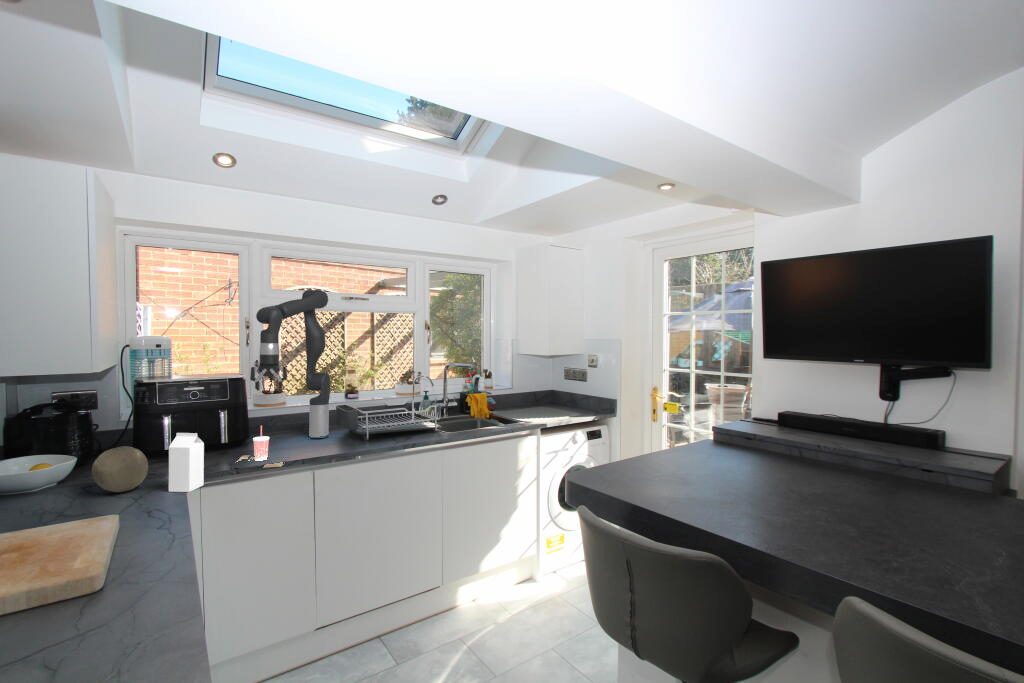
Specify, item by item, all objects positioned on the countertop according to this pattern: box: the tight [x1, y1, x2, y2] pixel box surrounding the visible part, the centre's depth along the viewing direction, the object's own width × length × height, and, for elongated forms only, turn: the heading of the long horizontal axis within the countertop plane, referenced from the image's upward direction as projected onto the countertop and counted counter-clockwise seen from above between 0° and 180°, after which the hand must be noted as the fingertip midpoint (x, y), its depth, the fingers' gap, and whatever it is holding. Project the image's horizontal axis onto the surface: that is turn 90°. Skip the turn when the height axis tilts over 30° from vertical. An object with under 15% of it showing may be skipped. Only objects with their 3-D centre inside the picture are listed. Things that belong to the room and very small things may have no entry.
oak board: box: [236, 454, 284, 468], centre depth 196 cm, size 18×18×1 cm
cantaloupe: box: [91, 445, 149, 493], centre depth 156 cm, size 14×14×15 cm
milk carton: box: [168, 432, 205, 493], centre depth 161 cm, size 7×7×19 cm
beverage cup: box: [252, 425, 270, 461], centre depth 195 cm, size 6×6×14 cm
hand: (268, 390), depth 209 cm, fingers open, 8 cm apart
